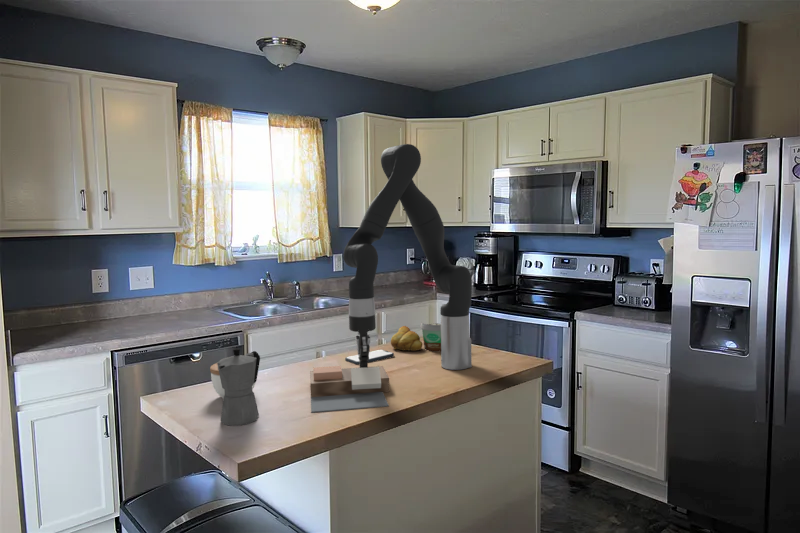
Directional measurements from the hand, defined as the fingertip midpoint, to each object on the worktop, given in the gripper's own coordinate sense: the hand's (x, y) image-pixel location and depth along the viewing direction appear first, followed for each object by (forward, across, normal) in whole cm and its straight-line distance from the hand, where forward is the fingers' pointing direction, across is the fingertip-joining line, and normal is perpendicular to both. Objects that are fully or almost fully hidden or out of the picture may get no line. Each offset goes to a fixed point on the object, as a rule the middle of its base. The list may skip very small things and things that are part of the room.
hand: (363, 372), depth 158 cm
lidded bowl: (+5, +2, +36) cm, 37 cm away
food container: (+5, +40, -30) cm, 51 cm away
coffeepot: (+5, -16, +32) cm, 36 cm away
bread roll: (+5, +45, -20) cm, 49 cm away
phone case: (+6, +35, -5) cm, 36 cm away
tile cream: (0, -4, 0) cm, 4 cm away
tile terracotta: (0, +2, +10) cm, 11 cm away
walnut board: (+5, +3, +4) cm, 7 cm away
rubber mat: (+5, -10, +5) cm, 12 cm away
